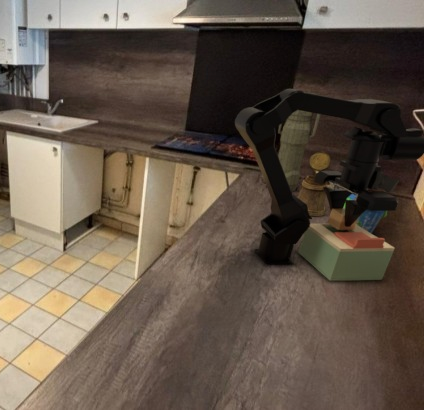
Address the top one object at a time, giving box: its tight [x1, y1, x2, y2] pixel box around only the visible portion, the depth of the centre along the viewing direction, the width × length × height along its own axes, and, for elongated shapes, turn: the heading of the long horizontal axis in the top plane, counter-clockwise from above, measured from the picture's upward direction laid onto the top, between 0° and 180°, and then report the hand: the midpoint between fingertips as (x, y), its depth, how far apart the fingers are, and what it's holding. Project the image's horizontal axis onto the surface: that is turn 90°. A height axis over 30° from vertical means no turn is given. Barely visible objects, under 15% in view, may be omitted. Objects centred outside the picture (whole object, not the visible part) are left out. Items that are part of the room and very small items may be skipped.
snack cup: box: [343, 194, 388, 234], centre depth 102 cm, size 16×10×10 cm
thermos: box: [277, 90, 322, 193], centre depth 129 cm, size 9×12×35 cm
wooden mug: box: [297, 150, 332, 217], centre depth 115 cm, size 9×14×18 cm, turn 149°
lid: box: [309, 222, 396, 252], centre depth 83 cm, size 12×12×1 cm
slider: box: [334, 232, 386, 248], centre depth 80 cm, size 7×6×2 cm
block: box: [327, 209, 358, 230], centre depth 85 cm, size 4×4×4 cm
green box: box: [298, 227, 394, 282], centre depth 85 cm, size 12×12×8 cm
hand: (341, 222), depth 85 cm, fingers closed on block, 4 cm apart
